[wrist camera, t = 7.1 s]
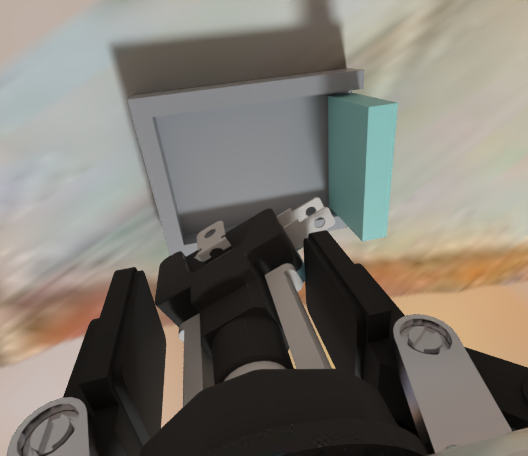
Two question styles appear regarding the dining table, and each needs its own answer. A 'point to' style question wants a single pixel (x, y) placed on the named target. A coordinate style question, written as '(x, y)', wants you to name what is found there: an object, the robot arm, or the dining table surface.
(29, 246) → the dining table surface
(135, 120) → the tray
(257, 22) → the dining table surface
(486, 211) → the dining table surface
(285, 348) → the push button
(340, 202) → the clamp jaw
